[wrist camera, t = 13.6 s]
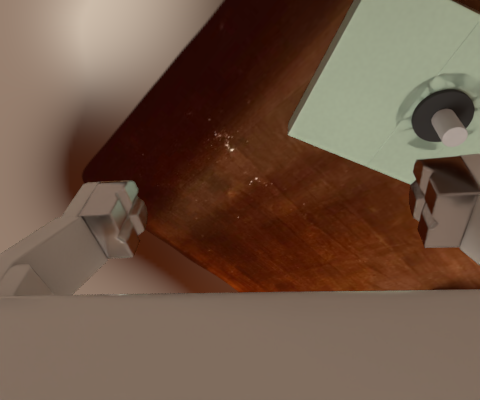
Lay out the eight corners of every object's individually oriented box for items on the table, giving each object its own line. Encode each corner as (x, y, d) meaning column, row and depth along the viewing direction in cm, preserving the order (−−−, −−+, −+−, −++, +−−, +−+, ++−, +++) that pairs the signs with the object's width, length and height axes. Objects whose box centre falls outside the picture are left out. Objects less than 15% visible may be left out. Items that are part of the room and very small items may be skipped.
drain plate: (288, 123, 39) (287, 135, 37) (375, -40, 29) (380, -35, 27) (472, 198, 43) (480, 212, 41) (609, 76, 32) (628, 88, 30)
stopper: (395, 117, 37) (409, 149, 32) (430, 71, 33) (451, 99, 29) (438, 136, 37) (458, 170, 33) (477, 92, 34) (504, 123, 30)
